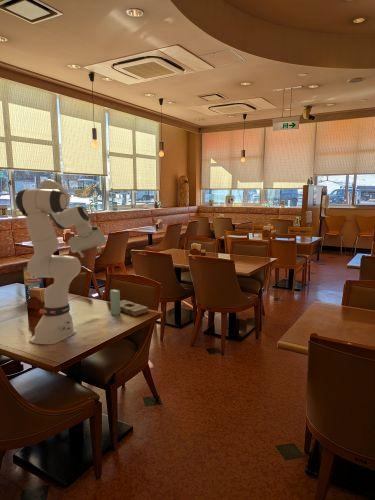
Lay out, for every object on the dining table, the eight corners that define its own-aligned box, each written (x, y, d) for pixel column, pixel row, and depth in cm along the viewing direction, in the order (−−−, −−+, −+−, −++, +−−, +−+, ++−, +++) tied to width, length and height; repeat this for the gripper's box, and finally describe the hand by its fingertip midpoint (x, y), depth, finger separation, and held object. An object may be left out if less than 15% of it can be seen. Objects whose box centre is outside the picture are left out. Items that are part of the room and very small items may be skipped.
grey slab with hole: (148, 312, 211) (148, 307, 211) (134, 316, 204) (134, 311, 203) (124, 304, 226) (124, 299, 225) (111, 308, 219) (111, 303, 218)
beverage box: (44, 301, 233) (42, 268, 230) (25, 303, 229) (23, 269, 226) (44, 298, 239) (41, 266, 236) (26, 300, 235) (23, 267, 232)
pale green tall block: (120, 314, 207) (119, 290, 205) (116, 315, 205) (115, 291, 203) (115, 312, 210) (114, 289, 208) (110, 314, 208) (110, 290, 206)
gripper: (65, 235, 202) (71, 257, 197) (101, 226, 206) (107, 246, 201) (68, 241, 208) (73, 261, 203) (103, 231, 212) (109, 251, 206)
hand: (91, 254), depth 202 cm, fingers open, 8 cm apart
